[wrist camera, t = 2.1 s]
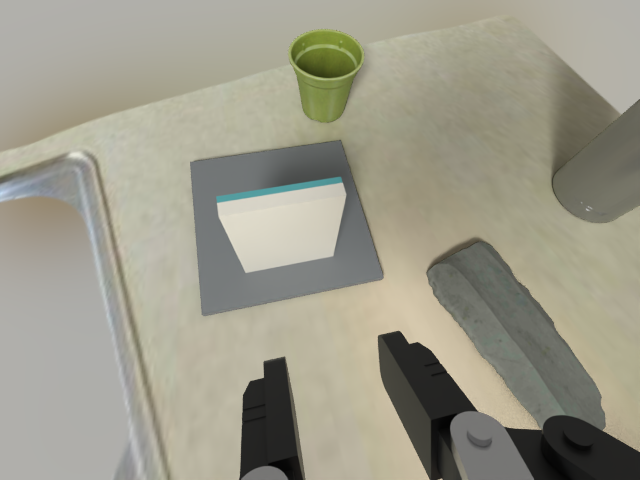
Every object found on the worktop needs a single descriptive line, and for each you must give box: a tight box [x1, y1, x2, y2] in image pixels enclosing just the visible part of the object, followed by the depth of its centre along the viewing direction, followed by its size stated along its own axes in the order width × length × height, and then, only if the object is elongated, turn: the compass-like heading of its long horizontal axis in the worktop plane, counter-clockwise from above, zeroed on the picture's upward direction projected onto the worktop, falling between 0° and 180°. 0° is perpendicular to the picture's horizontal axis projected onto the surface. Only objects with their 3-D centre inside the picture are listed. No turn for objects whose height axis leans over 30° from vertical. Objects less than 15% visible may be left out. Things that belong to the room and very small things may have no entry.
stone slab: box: [427, 241, 606, 430], centre depth 36 cm, size 22×3×10 cm
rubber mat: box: [190, 140, 384, 316], centre depth 40 cm, size 20×20×1 cm
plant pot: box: [288, 29, 364, 122], centre depth 45 cm, size 9×9×9 cm
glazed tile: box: [216, 177, 346, 273], centre depth 32 cm, size 2×10×13 cm, turn 102°
